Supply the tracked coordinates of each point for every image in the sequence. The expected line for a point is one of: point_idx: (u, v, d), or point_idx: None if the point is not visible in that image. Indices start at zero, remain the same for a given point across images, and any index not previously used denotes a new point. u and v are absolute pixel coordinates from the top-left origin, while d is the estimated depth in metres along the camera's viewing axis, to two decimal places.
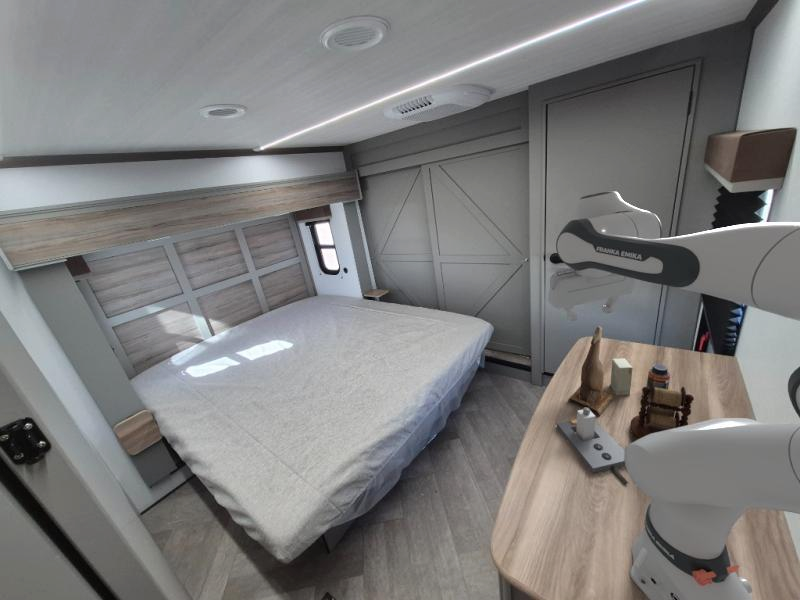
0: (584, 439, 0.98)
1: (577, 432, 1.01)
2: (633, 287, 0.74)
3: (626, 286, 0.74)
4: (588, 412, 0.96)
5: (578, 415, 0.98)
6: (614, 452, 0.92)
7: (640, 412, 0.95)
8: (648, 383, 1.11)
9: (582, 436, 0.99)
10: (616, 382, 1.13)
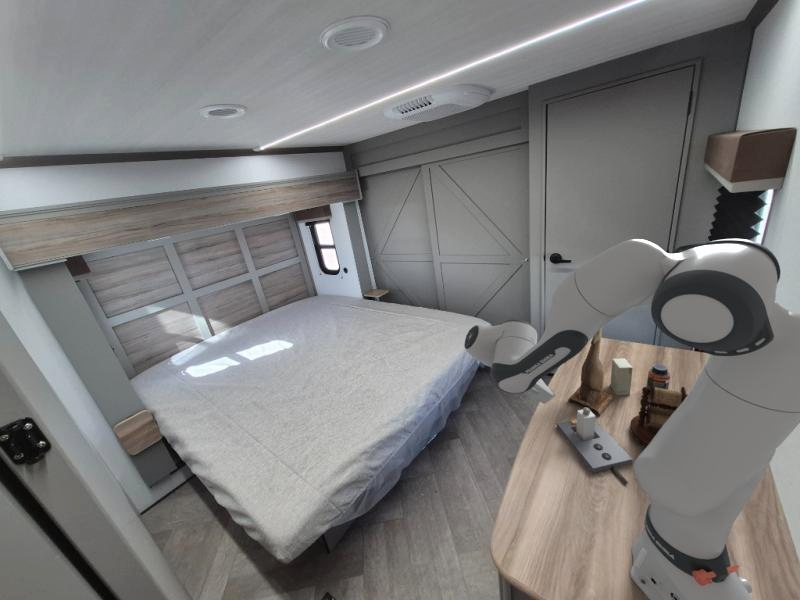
0: (584, 439, 0.98)
1: (577, 432, 1.01)
2: None
3: None
4: (588, 412, 0.96)
5: (578, 415, 0.98)
6: (614, 452, 0.92)
7: (640, 412, 0.95)
8: (648, 383, 1.11)
9: (582, 436, 0.99)
10: (616, 382, 1.13)
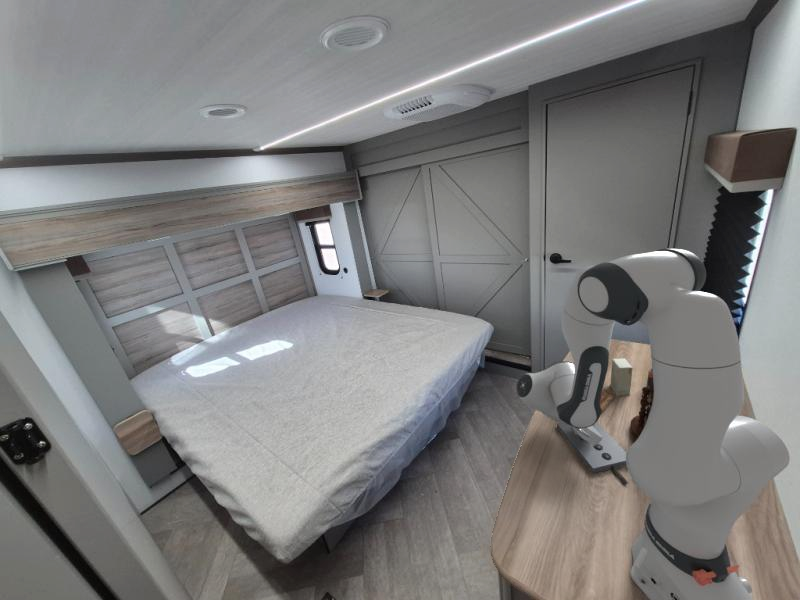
0: None
1: None
2: None
3: None
4: None
5: None
6: (614, 452, 0.92)
7: (640, 412, 0.95)
8: (648, 383, 1.11)
9: None
10: (616, 382, 1.13)
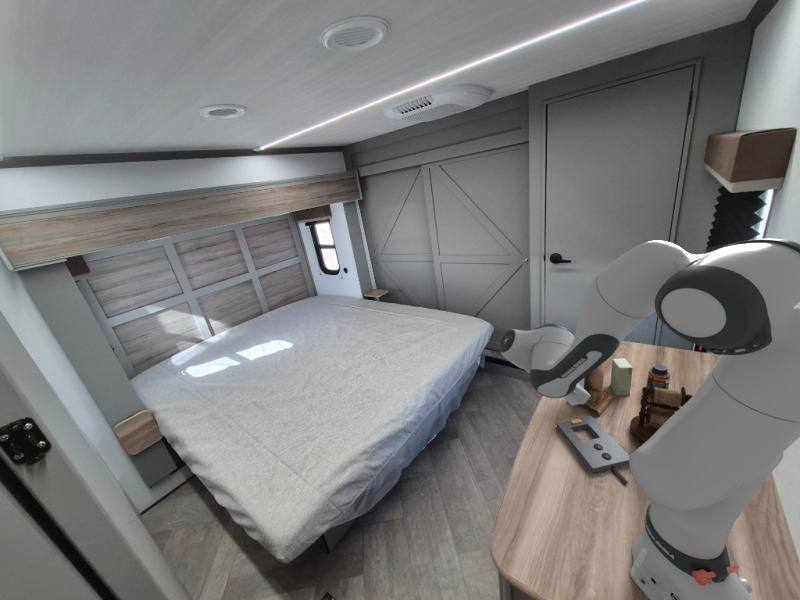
0: (572, 402, 0.92)
1: (565, 396, 0.95)
2: None
3: None
4: None
5: None
6: (614, 452, 0.92)
7: (640, 412, 0.95)
8: (648, 383, 1.11)
9: (570, 399, 0.93)
10: (616, 382, 1.13)
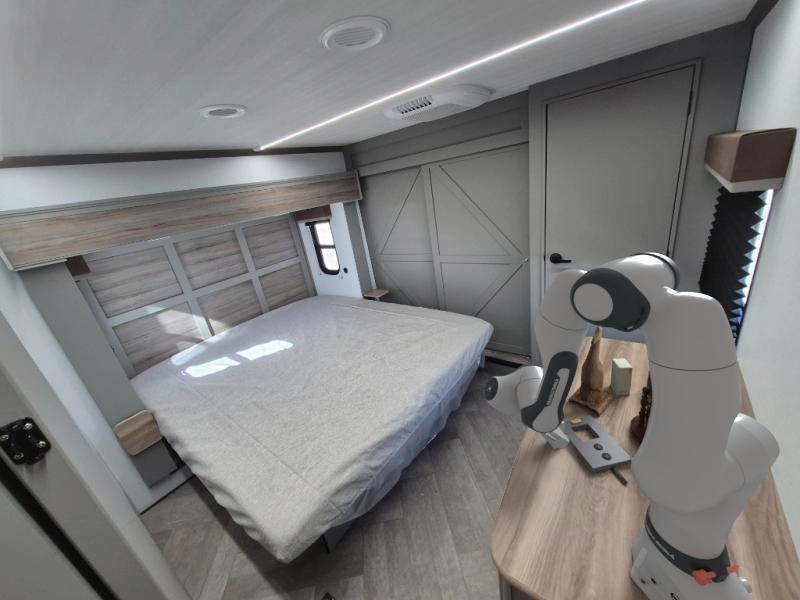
0: (554, 446, 0.98)
1: None
2: None
3: None
4: None
5: None
6: (614, 452, 0.92)
7: (640, 412, 0.95)
8: (648, 383, 1.11)
9: None
10: (616, 382, 1.13)
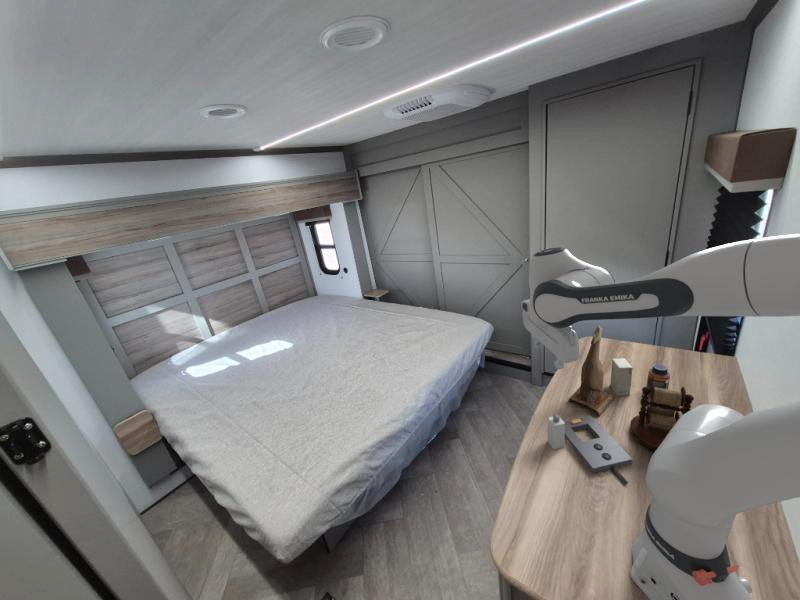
0: (554, 446, 0.98)
1: (548, 439, 1.01)
2: None
3: None
4: (558, 419, 0.95)
5: (549, 422, 0.98)
6: (614, 452, 0.92)
7: (640, 412, 0.95)
8: (648, 383, 1.11)
9: (552, 443, 0.98)
10: (616, 382, 1.13)
